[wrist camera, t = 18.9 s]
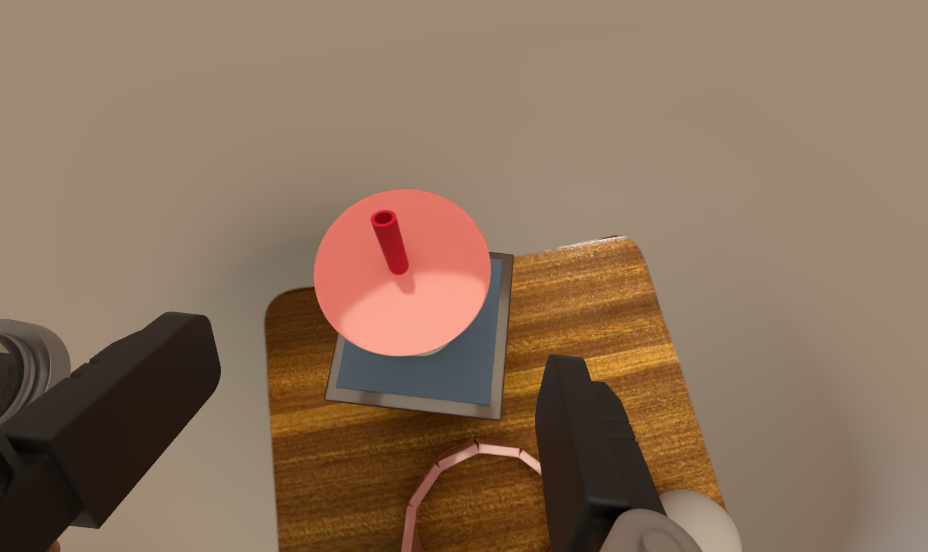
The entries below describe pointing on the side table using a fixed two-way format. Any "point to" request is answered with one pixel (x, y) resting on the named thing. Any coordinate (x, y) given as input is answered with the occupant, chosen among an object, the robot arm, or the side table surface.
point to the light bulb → (702, 520)
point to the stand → (439, 405)
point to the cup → (402, 273)
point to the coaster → (434, 361)
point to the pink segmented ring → (446, 459)
